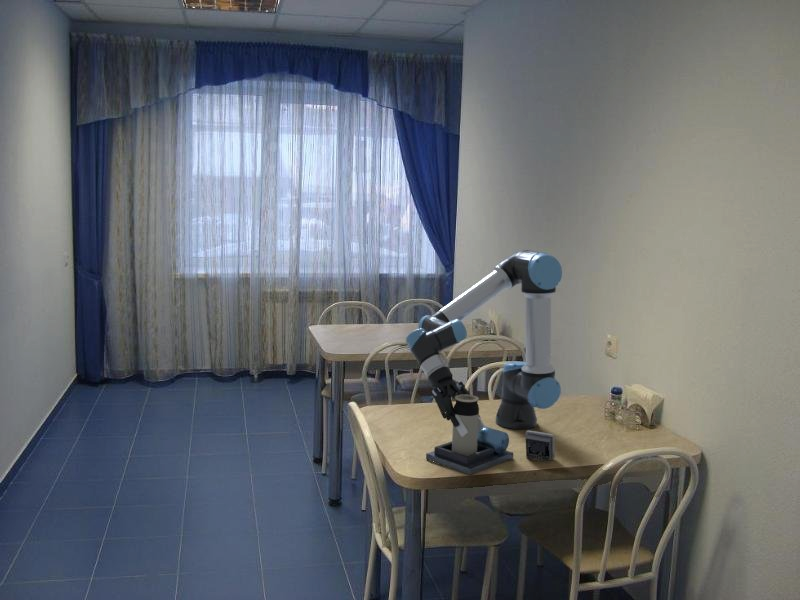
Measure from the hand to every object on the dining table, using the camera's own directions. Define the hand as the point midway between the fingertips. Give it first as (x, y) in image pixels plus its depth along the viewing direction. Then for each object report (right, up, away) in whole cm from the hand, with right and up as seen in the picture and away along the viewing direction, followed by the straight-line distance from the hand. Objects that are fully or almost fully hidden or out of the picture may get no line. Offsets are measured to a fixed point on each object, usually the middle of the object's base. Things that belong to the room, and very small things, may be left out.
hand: (473, 431), depth 249 cm
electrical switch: (+22, -10, +8) cm, 25 cm away
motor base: (-1, -10, +6) cm, 11 cm away
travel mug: (-3, -7, +4) cm, 9 cm away
